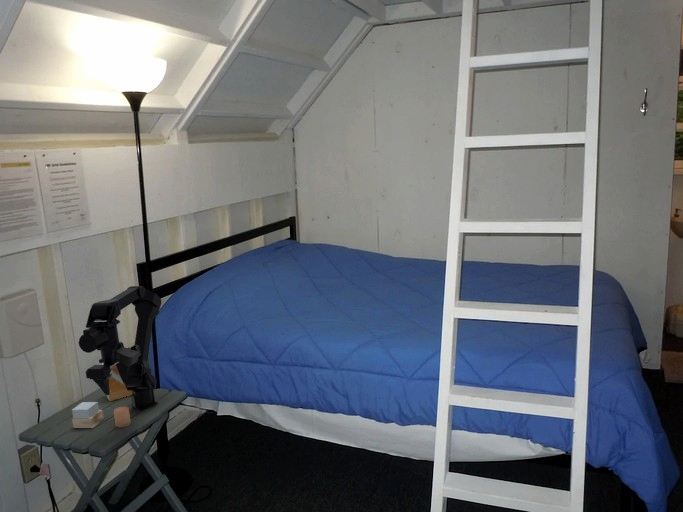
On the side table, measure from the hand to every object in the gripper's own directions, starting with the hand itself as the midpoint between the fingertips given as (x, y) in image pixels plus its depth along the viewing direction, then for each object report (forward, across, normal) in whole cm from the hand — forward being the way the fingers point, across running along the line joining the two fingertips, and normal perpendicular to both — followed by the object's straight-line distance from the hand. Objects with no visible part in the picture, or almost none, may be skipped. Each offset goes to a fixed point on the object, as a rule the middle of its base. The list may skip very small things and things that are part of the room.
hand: (116, 388), depth 173 cm
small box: (+12, +21, +15) cm, 28 cm away
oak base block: (+12, 0, +12) cm, 17 cm away
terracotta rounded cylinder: (+12, 0, 0) cm, 12 cm away
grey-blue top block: (+9, 0, +12) cm, 15 cm away
